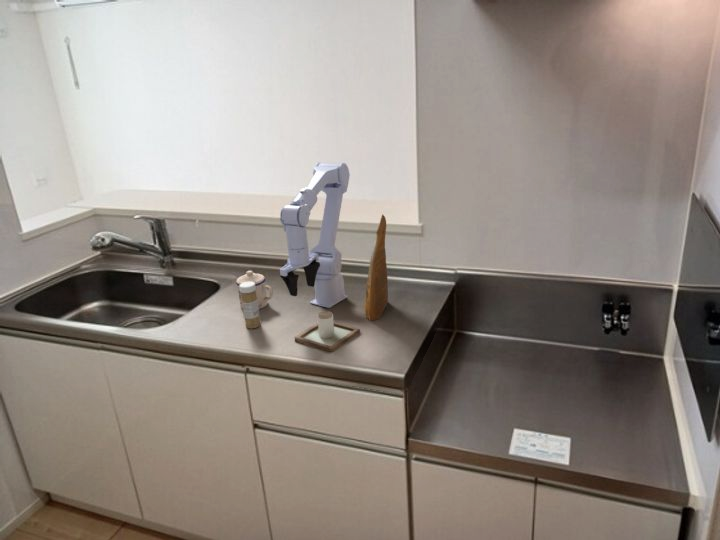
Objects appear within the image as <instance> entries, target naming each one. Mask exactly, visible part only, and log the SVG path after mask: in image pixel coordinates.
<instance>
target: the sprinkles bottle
mask: <svg viewBox="0 0 720 540" xmlns="http://www.w3.org/2000/svg"><path fill="white" fill-rule="evenodd" d="M239 288H240V292H241V296H242V305H243V309H242V310H243V316H244V322H245V327H246V328H247V329H256V328H258V327H260V326H261V324H262V323H261V321H260V320H261V318H260V309H258V302H257V297H256V286H255V283H254V282H244V283H241V284H240V286H239Z"/></svg>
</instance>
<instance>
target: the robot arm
mask: <svg viewBox="0 0 720 540" xmlns="http://www.w3.org/2000/svg"><path fill="white" fill-rule="evenodd" d="M312 171H313V172H312V174H313V175H312V178H311V180H310V182H309V183H308V185H307V187H305V188H300V190H299V192H298V193H297V194H296V196H295V197H294V198H293V199H292V201H291V203H290V204H286V205H285V206H283V207H282V208H281V210H280V213H279V214H280V215H279V221H280V224H281V225H282V227H283V231H284V232H285V234H286V243H287V244H286V245H287V253H288V258H287V263H286V264H285V265H284V266H282V267H281V268H279V276H280V278H281V279H282V281H283V282H284V284H285V285H286V288H287V289H288V292H289V295H290V296H292V297H297V296H298V280H299V277H300V275H299V274H295V271H297V270H299V269H301V268H303V270H304V274H305V279H306V285H307V286H308V287H310V288H311V287H312V288H314V295H315V298H314V299H313V300H311V301H310V302H309V303H310V304H312V305H315V306H320V307H324V308H327V309H329V308H332V307H334V306H335V305H338V304H339V303H340V302H341V301H344V300H345V299H346V298H348V296H347V295H345V293H346V292H345V281H344V277H343V275H342V273H341V270H342V264H343V263H342V252H341V251H340V250H339V249H338V248H337V247H336V246H335V245H336V240H337V233H338V227H339V221H340V215H341V214H340V213H341V211H342V210H341V208H342V202H343V198H344V197H343V195H344V194H345V193H347V191H348V187H349V181H350V175H351V174H350V169H349V167H348V165H347V163H345V162H341V163H340V162H339V163H337V162H336V163H335V162H334V163H333V162H331V163H330V162H317V163H316V164H315V165H314V167H313V169H312ZM320 192H324V194H325V196H326V199H325V204H324V209H323V214H322V215H323V216H322V222H321V227H320V228H321V229H320V233H319V240H318V244H315V246H313V247H312V248H311V249H310V251H309V244H308V234H307V225H308V223H309V220H310V215H311V211H312V210H313V208H315V207H314V206H315V205H316V204H317V202H318V194H319V193H320Z"/></svg>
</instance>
